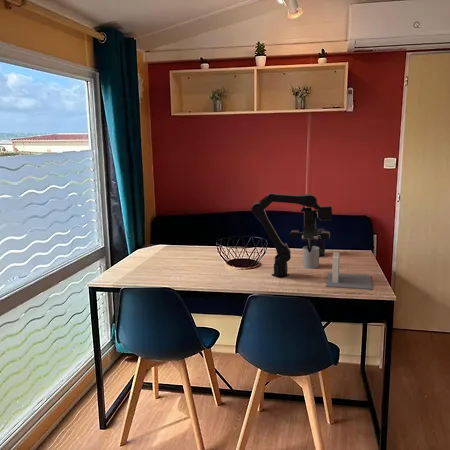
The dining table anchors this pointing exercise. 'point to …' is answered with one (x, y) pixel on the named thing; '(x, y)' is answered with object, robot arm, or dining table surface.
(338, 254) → the cream flat block
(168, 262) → the dining table surface
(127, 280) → the dining table surface
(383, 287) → the dining table surface
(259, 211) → the robot arm
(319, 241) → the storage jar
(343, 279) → the mat
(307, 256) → the cup
